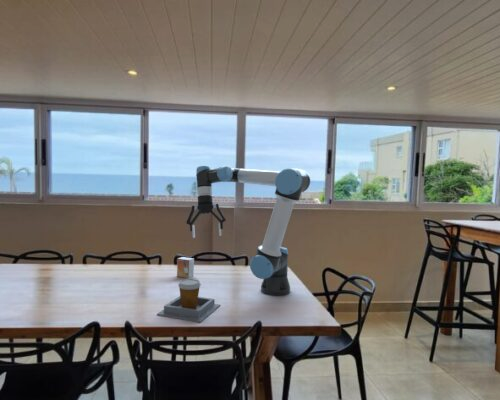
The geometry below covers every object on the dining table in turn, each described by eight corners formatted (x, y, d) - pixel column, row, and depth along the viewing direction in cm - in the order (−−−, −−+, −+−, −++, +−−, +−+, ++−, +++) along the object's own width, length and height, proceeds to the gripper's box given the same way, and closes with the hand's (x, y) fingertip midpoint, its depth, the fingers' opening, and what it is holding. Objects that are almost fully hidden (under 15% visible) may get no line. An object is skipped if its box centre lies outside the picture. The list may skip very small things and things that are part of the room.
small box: (176, 276, 206) (177, 258, 205) (182, 274, 211) (182, 256, 210) (188, 278, 203) (189, 260, 202) (193, 275, 208) (194, 258, 207)
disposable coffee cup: (204, 307, 157) (204, 280, 156) (191, 314, 149) (192, 286, 148) (186, 303, 161) (186, 277, 160) (173, 310, 153) (173, 282, 152)
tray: (220, 305, 161) (220, 298, 161) (200, 322, 142) (200, 314, 142) (180, 299, 168) (180, 292, 167) (157, 315, 149) (157, 306, 148)
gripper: (229, 195, 189) (232, 235, 185) (182, 198, 189) (184, 238, 186) (227, 192, 181) (230, 234, 178) (179, 196, 182) (181, 238, 179)
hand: (207, 236), depth 182 cm, fingers open, 13 cm apart
